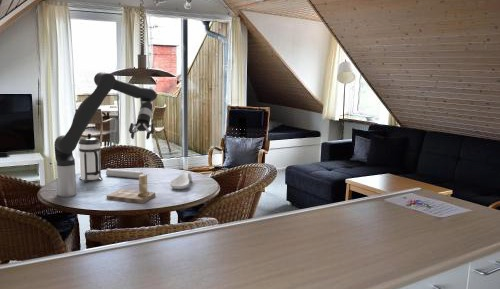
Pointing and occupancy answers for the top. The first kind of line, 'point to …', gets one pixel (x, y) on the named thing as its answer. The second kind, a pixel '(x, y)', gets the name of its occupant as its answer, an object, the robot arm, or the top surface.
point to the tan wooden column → (143, 185)
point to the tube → (123, 173)
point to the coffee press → (90, 158)
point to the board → (129, 196)
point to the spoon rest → (181, 181)
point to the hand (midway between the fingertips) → (139, 138)
